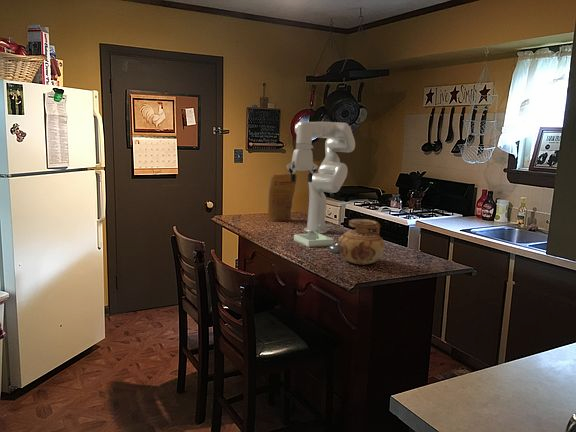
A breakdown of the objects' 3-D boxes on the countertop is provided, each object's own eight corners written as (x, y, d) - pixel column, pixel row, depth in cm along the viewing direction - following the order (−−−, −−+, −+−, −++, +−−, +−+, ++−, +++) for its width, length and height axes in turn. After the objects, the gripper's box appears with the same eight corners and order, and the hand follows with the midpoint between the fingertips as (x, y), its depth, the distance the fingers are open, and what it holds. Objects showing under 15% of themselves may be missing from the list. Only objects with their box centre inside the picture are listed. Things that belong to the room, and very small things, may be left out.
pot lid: (339, 248, 225) (340, 241, 225) (349, 253, 219) (350, 245, 218) (325, 249, 222) (326, 242, 221) (335, 254, 215) (335, 246, 214)
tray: (318, 238, 244) (318, 233, 244) (333, 245, 232) (333, 239, 232) (293, 240, 237) (294, 234, 237) (308, 247, 225) (308, 240, 225)
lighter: (308, 241, 233) (309, 225, 231) (306, 241, 234) (307, 224, 233) (321, 241, 236) (322, 225, 234) (319, 240, 237) (320, 224, 236)
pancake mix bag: (296, 221, 290) (299, 174, 285) (268, 222, 281) (271, 174, 276) (291, 219, 296) (294, 173, 291) (263, 220, 286) (266, 173, 282)
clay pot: (355, 263, 189) (349, 214, 193) (333, 269, 206) (327, 223, 210) (395, 260, 197) (388, 213, 201) (371, 266, 214) (364, 222, 217)
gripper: (314, 147, 244) (312, 181, 247) (284, 146, 235) (282, 181, 238) (322, 148, 237) (320, 183, 240) (291, 147, 229) (289, 182, 232)
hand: (301, 182), depth 239 cm, fingers open, 9 cm apart
